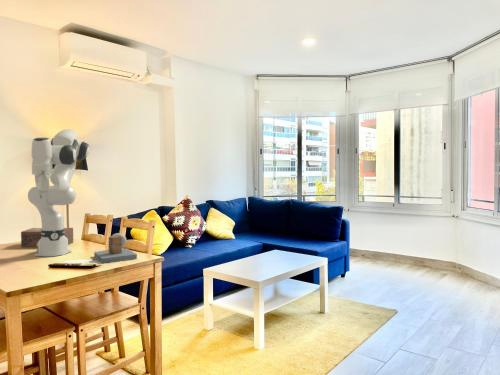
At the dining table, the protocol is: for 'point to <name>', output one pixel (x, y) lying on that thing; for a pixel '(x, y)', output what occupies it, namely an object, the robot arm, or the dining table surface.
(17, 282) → the dining table surface
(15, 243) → the dining table surface
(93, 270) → the dining table surface
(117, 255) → the base board
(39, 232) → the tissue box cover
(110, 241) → the walnut block
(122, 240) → the donut
